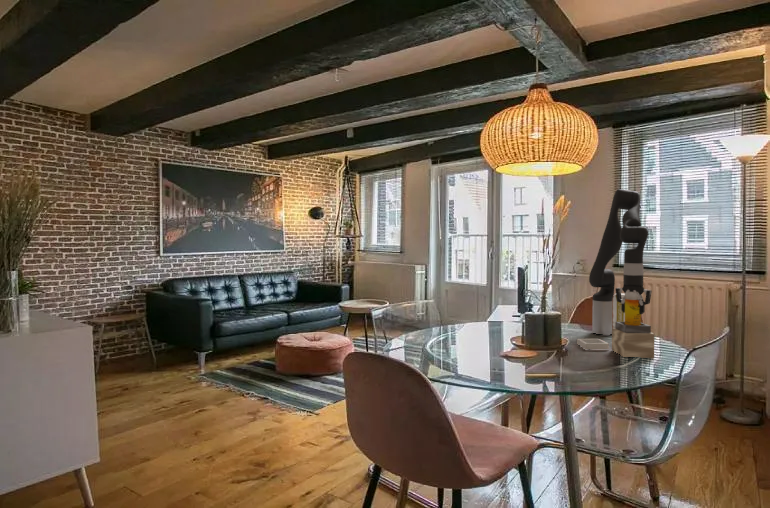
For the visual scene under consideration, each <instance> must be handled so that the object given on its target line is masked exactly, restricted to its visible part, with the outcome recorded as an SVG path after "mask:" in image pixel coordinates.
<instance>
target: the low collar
mask: <svg viewBox="0 0 770 508" xmlns="http://www.w3.org/2000/svg"><path fill="white" fill-rule="evenodd" d="M576 344H578V345H580V346H582V347H583V348H585V349H609V348H610V347H609V345H610V344H609V342H607V341H604V340H602V339H600V338H576ZM578 345H577V346H578Z"/></svg>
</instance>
